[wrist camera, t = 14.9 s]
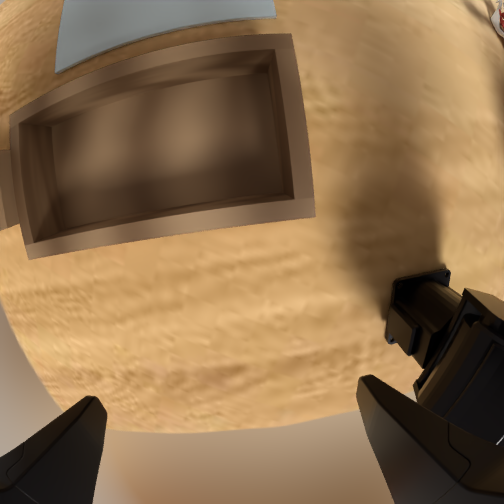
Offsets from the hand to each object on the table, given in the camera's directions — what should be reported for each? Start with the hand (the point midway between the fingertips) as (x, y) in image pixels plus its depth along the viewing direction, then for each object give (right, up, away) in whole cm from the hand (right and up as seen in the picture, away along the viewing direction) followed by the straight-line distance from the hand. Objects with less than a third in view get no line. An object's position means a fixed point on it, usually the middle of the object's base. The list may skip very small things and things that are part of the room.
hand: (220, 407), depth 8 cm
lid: (-7, +25, +6) cm, 27 cm away
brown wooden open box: (-8, +11, +9) cm, 17 cm away
